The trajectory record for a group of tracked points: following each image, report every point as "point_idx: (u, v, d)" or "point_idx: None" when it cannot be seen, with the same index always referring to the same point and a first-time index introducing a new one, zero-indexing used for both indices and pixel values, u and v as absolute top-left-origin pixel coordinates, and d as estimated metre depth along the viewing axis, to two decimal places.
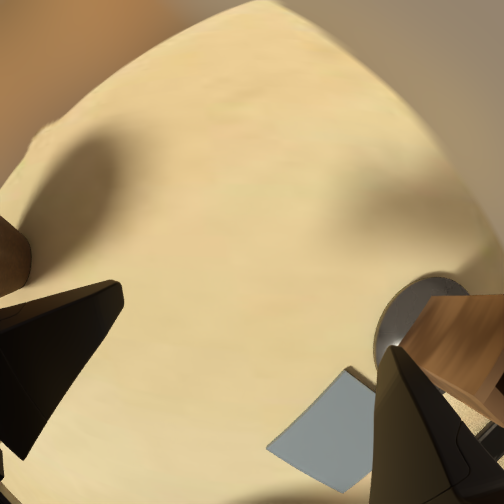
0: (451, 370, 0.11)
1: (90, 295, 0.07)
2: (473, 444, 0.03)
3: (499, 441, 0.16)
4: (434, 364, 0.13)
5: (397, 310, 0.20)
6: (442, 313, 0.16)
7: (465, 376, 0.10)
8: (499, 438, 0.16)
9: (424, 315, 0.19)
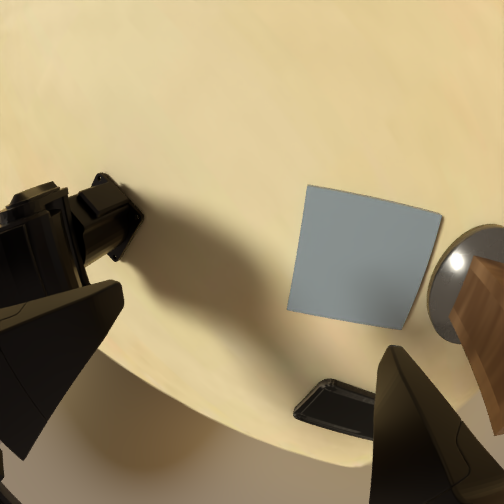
0: None
1: (90, 295, 0.07)
2: (473, 444, 0.03)
3: None
4: None
5: None
6: None
7: None
8: None
9: None
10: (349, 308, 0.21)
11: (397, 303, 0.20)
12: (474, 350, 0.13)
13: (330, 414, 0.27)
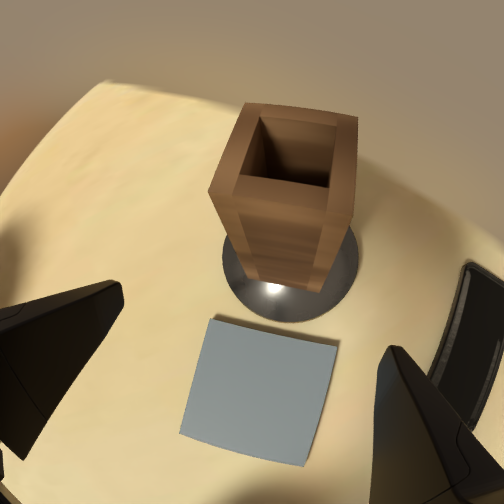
0: None
1: (90, 295, 0.07)
2: (473, 444, 0.03)
3: (486, 323, 0.18)
4: None
5: None
6: None
7: None
8: (482, 319, 0.18)
9: None
10: (304, 408, 0.18)
11: (301, 357, 0.20)
12: (314, 268, 0.16)
13: (468, 391, 0.16)
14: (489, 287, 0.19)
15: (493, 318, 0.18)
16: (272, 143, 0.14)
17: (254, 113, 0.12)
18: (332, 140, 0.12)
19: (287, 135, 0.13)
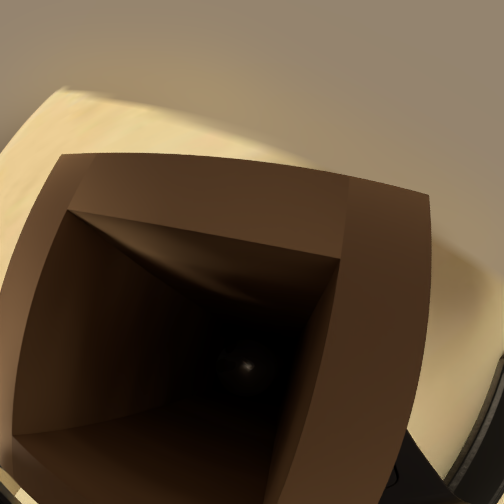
0: None
1: None
2: (409, 449, 0.03)
3: None
4: None
5: None
6: None
7: None
8: None
9: None
10: None
11: None
12: None
13: None
14: None
15: None
16: (147, 261, 0.05)
17: (61, 199, 0.03)
18: (320, 283, 0.04)
19: (168, 255, 0.04)
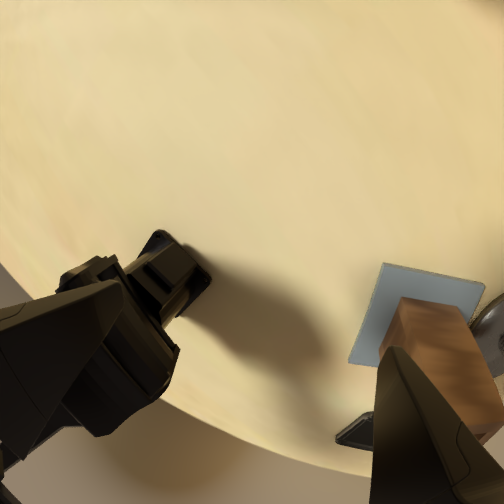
0: (436, 382, 0.11)
1: (90, 295, 0.07)
2: (473, 444, 0.03)
3: None
4: (427, 357, 0.13)
5: None
6: (456, 331, 0.15)
7: None
8: None
9: (442, 310, 0.18)
10: None
11: None
12: None
13: (368, 438, 0.27)
14: None
15: None
16: None
17: (491, 429, 0.08)
18: None
19: None
